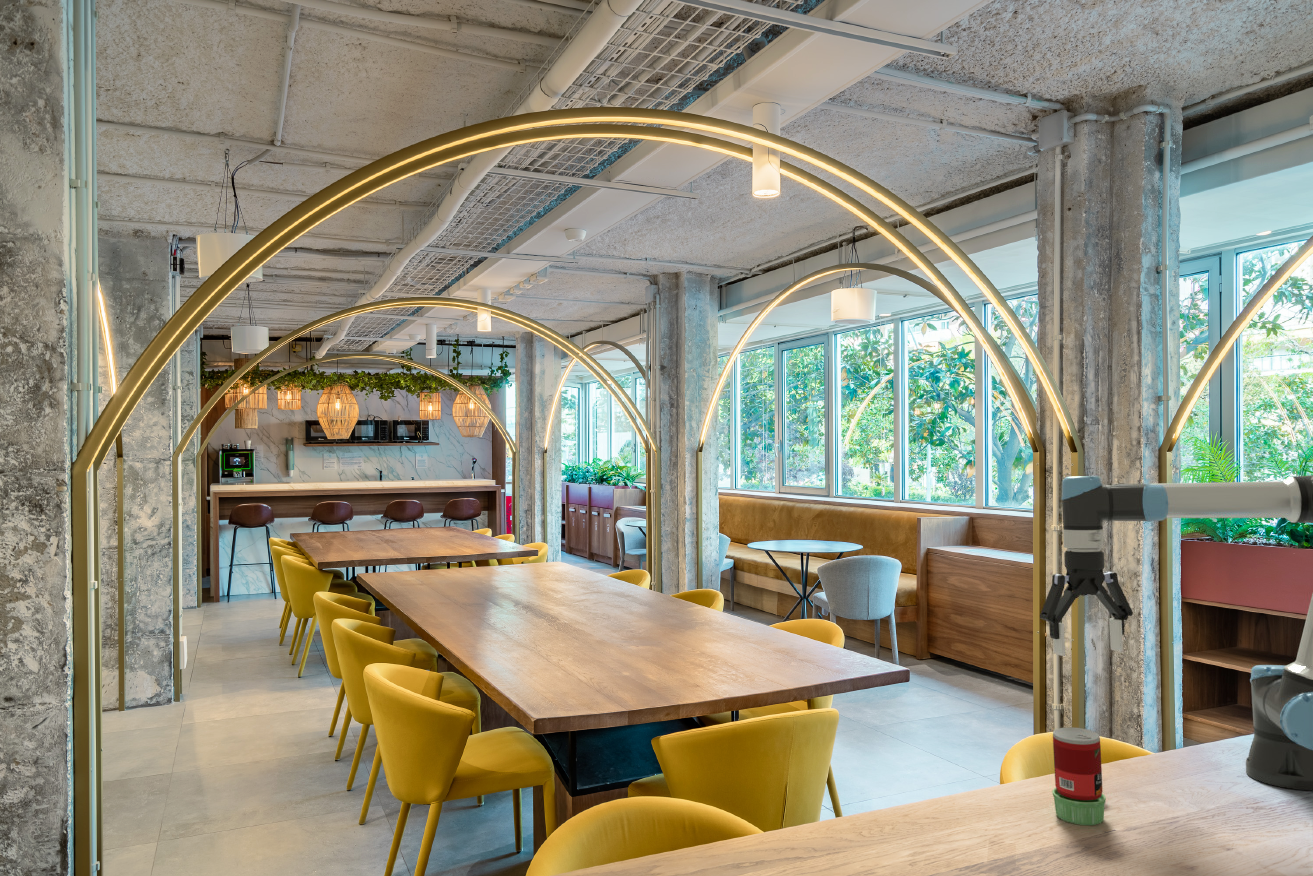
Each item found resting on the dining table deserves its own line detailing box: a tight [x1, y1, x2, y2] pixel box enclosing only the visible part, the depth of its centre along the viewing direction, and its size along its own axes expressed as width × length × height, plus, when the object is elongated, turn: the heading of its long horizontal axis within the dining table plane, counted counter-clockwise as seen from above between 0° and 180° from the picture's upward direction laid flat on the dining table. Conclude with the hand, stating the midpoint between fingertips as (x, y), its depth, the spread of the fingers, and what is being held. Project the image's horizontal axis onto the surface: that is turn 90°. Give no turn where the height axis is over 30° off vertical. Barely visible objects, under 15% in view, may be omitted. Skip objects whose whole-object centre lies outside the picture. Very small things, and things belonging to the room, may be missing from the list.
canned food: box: [1052, 726, 1103, 800], centre depth 165 cm, size 8×8×11 cm
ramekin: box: [1051, 787, 1107, 826], centre depth 165 cm, size 9×9×4 cm
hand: (1088, 652), depth 184 cm, fingers open, 13 cm apart
